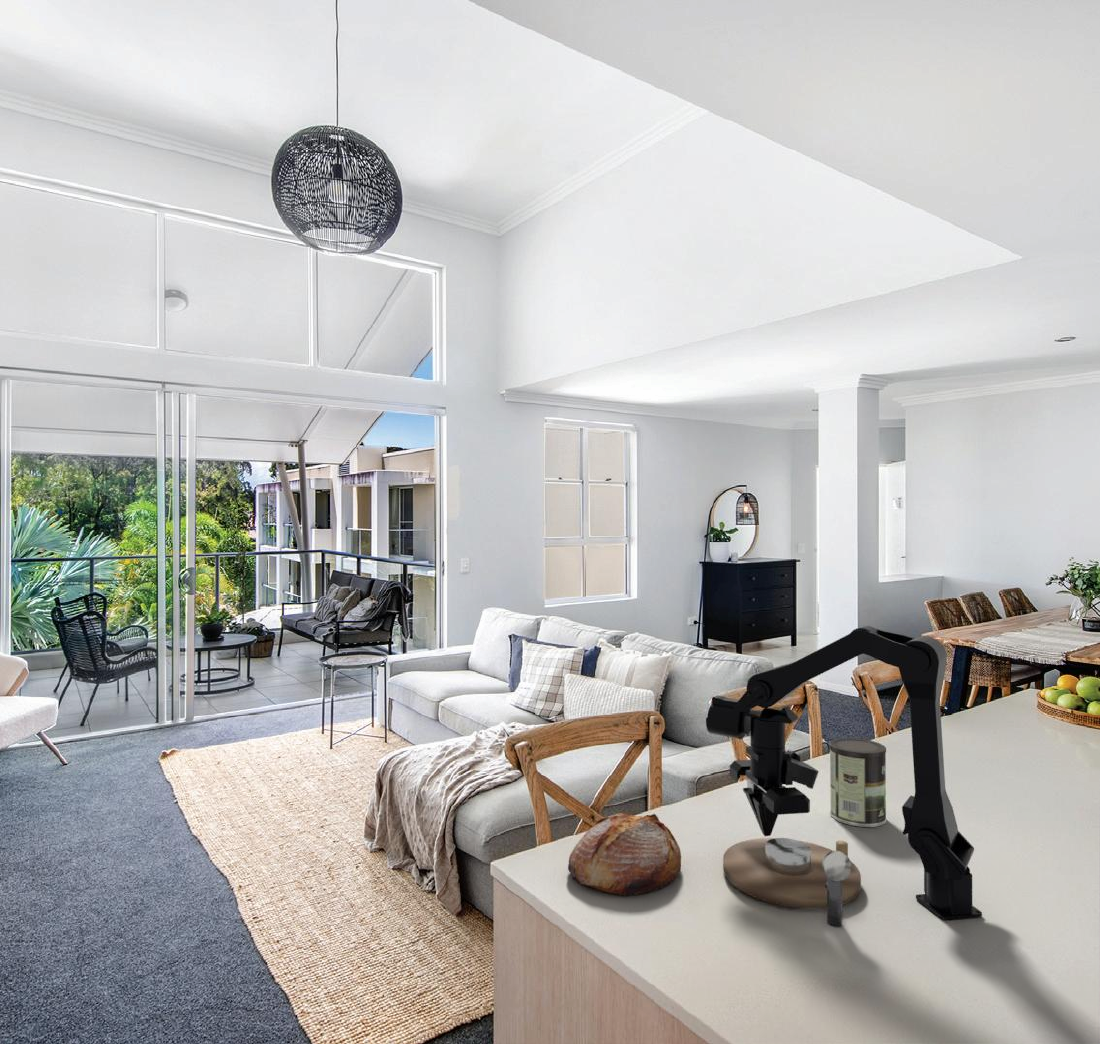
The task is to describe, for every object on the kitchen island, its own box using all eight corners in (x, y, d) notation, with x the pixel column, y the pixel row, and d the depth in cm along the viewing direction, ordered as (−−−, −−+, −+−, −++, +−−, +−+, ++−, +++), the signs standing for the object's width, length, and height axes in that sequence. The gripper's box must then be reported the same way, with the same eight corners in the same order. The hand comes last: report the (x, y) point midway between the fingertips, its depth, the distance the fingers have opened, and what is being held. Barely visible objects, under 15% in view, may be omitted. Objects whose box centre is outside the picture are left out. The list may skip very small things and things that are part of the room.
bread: (703, 881, 121) (706, 821, 121) (613, 918, 109) (616, 852, 109) (634, 840, 134) (637, 786, 134) (547, 870, 123) (550, 810, 122)
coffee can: (879, 809, 149) (879, 739, 149) (892, 830, 139) (892, 754, 139) (825, 805, 151) (825, 736, 151) (834, 825, 141) (834, 751, 141)
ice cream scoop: (851, 926, 105) (851, 852, 105) (825, 928, 105) (824, 853, 105) (839, 914, 108) (839, 842, 108) (814, 917, 108) (813, 844, 108)
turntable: (889, 902, 111) (889, 872, 111) (756, 913, 107) (756, 882, 107) (817, 842, 131) (817, 817, 131) (704, 851, 128) (704, 824, 128)
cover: (819, 874, 116) (819, 855, 116) (776, 877, 115) (776, 857, 115) (799, 855, 123) (799, 837, 123) (758, 857, 122) (758, 839, 122)
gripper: (840, 759, 119) (839, 856, 119) (785, 727, 138) (784, 811, 138) (775, 762, 117) (774, 861, 117) (728, 729, 136) (727, 814, 136)
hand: (766, 835), depth 127 cm, fingers closed
